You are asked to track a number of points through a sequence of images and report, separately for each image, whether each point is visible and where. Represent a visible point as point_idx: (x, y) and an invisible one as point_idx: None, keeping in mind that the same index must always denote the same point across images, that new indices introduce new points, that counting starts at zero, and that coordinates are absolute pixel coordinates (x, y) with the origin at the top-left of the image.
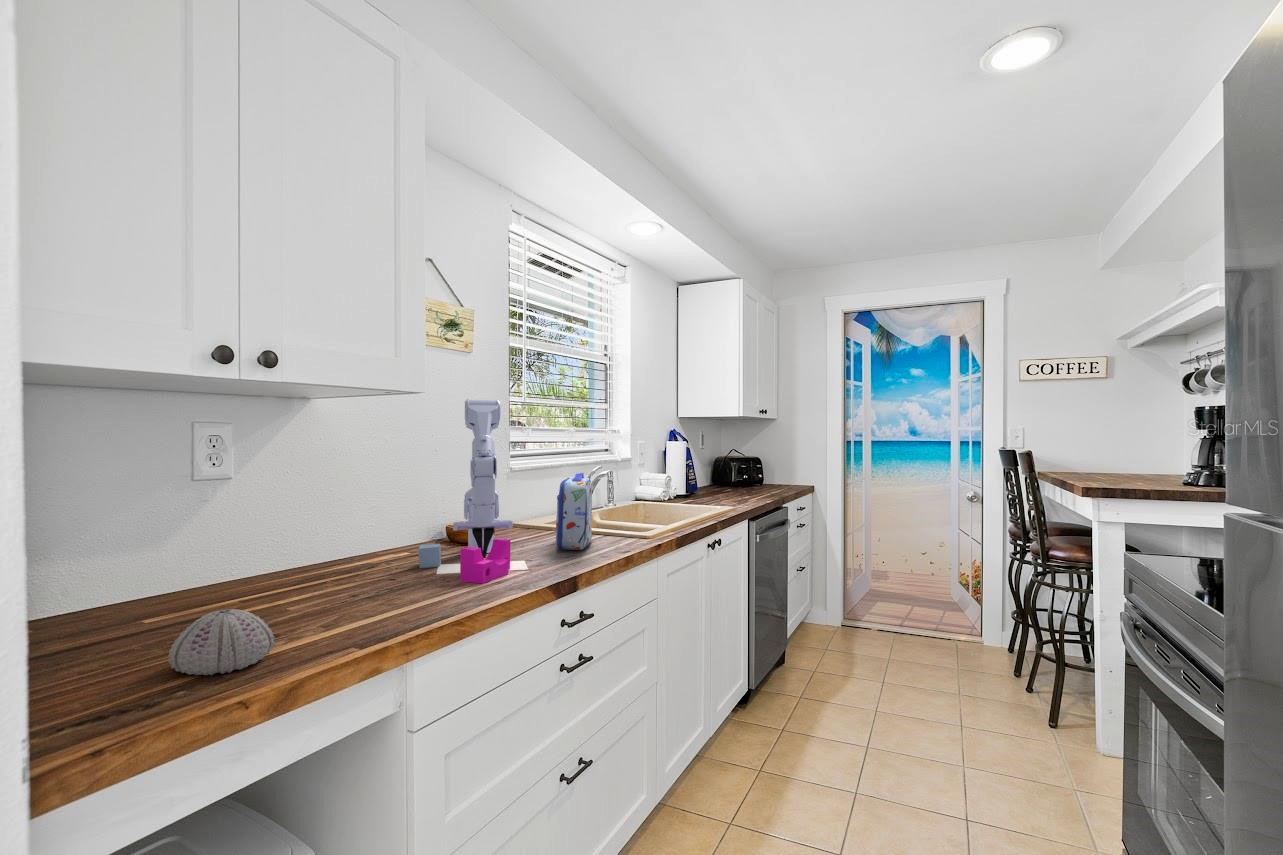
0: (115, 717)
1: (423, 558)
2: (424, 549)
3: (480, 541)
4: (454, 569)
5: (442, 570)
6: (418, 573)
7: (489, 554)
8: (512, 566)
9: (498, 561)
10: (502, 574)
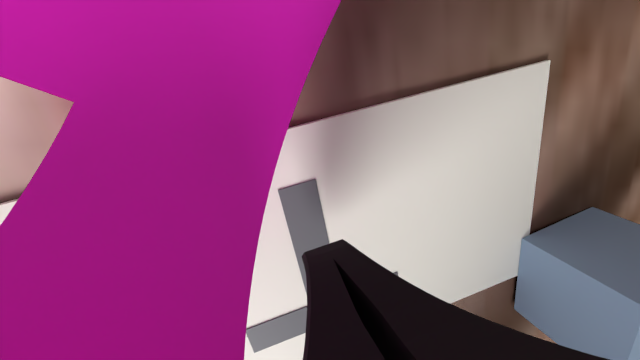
0: None
1: (633, 234)
2: None
3: (437, 341)
4: (461, 179)
5: (517, 151)
6: (612, 98)
7: (253, 208)
8: None
9: (71, 27)
10: None
